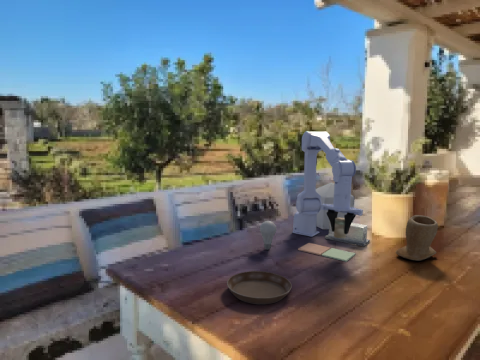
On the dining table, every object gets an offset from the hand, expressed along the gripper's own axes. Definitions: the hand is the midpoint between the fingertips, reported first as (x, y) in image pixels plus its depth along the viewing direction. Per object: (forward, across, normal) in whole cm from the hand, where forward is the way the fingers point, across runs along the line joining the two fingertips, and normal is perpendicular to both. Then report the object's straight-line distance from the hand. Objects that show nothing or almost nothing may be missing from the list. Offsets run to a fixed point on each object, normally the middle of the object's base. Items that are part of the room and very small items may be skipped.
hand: (340, 232), depth 128 cm
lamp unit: (+8, -4, +19) cm, 21 cm away
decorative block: (+9, -20, +38) cm, 44 cm away
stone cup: (+9, +23, +16) cm, 30 cm away
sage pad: (+8, 0, 0) cm, 8 cm away
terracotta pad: (+8, -10, 0) cm, 13 cm away
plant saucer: (+9, -6, -42) cm, 44 cm away
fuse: (+2, 0, 0) cm, 2 cm away
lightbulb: (+9, -23, -12) cm, 27 cm away
